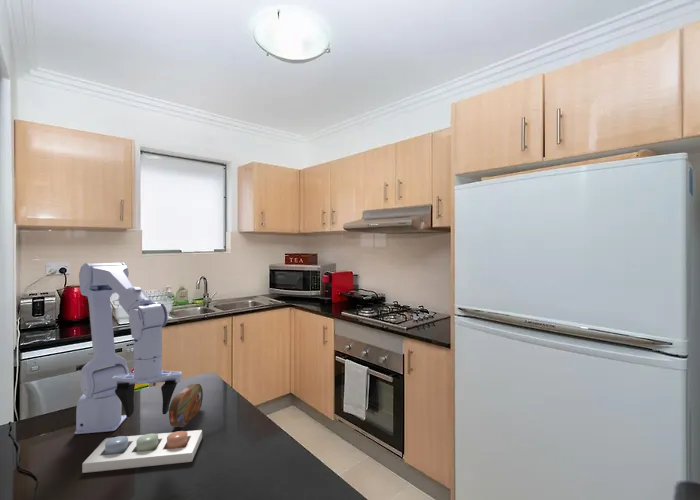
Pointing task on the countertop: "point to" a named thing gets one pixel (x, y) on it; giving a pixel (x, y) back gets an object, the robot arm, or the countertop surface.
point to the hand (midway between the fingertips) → (147, 413)
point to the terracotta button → (177, 440)
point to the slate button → (116, 445)
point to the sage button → (147, 442)
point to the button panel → (142, 454)
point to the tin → (185, 405)
